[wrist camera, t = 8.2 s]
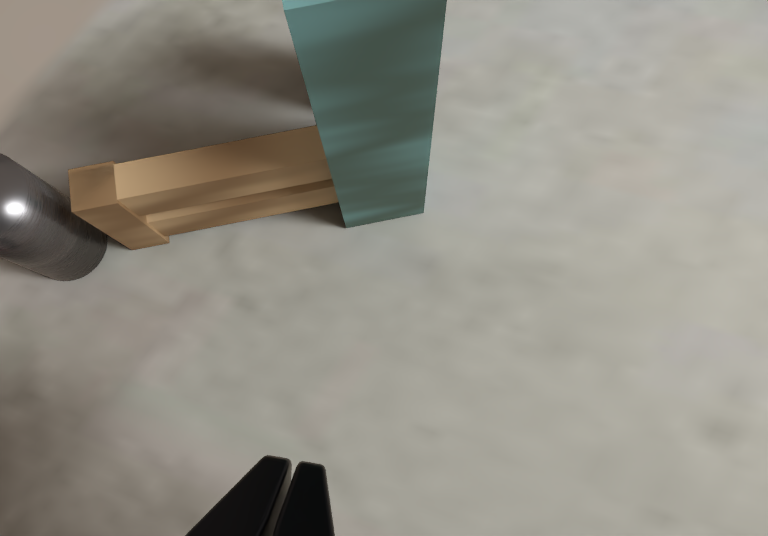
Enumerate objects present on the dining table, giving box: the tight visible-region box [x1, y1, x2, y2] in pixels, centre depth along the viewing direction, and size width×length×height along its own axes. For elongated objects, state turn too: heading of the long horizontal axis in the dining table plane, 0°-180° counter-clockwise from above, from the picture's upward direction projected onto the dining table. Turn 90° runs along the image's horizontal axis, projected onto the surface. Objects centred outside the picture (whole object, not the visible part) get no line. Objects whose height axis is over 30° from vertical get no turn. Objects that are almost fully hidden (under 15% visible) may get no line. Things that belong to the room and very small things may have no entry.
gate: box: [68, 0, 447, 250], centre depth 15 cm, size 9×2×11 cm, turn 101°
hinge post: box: [0, 154, 107, 281], centre depth 18 cm, size 2×2×4 cm
